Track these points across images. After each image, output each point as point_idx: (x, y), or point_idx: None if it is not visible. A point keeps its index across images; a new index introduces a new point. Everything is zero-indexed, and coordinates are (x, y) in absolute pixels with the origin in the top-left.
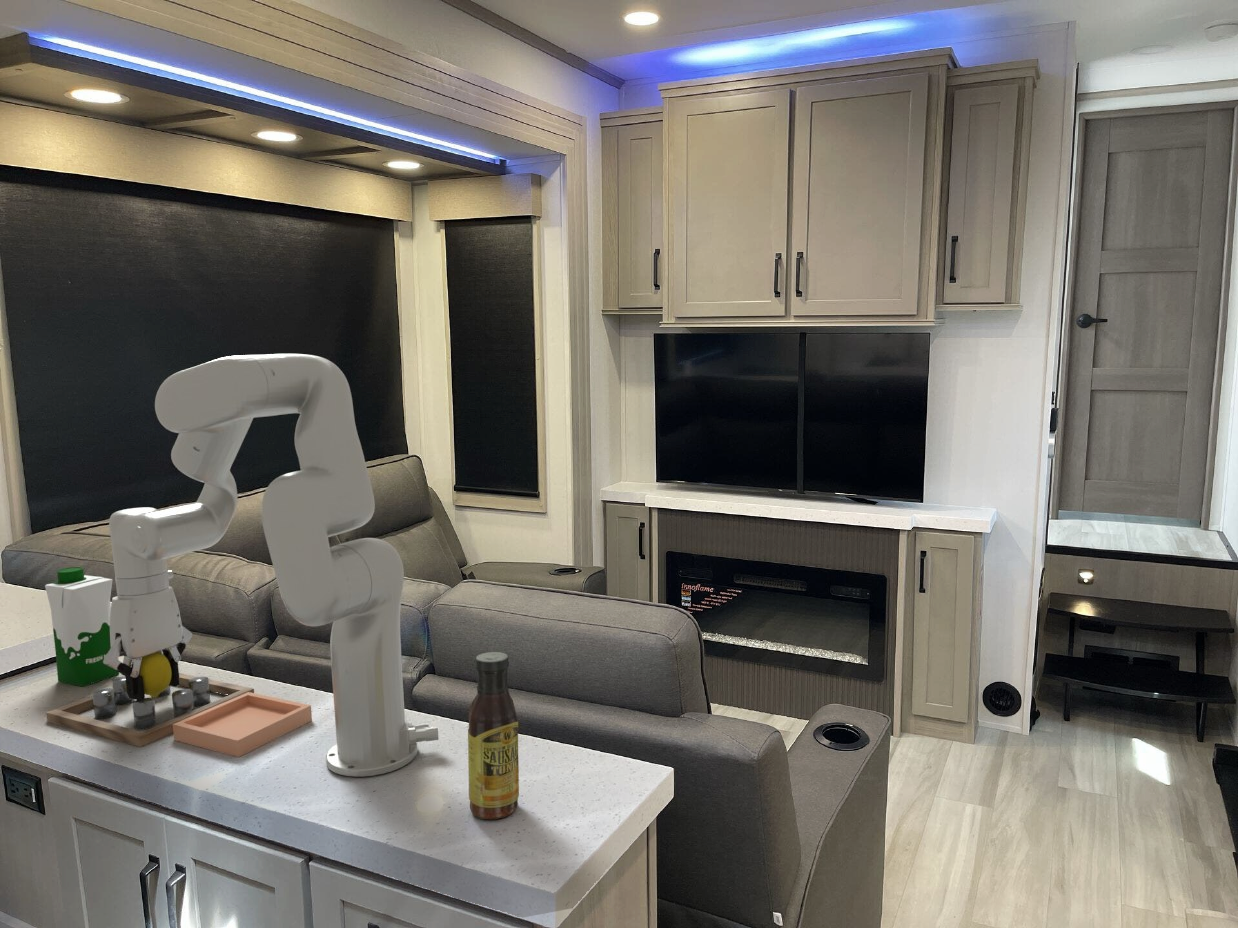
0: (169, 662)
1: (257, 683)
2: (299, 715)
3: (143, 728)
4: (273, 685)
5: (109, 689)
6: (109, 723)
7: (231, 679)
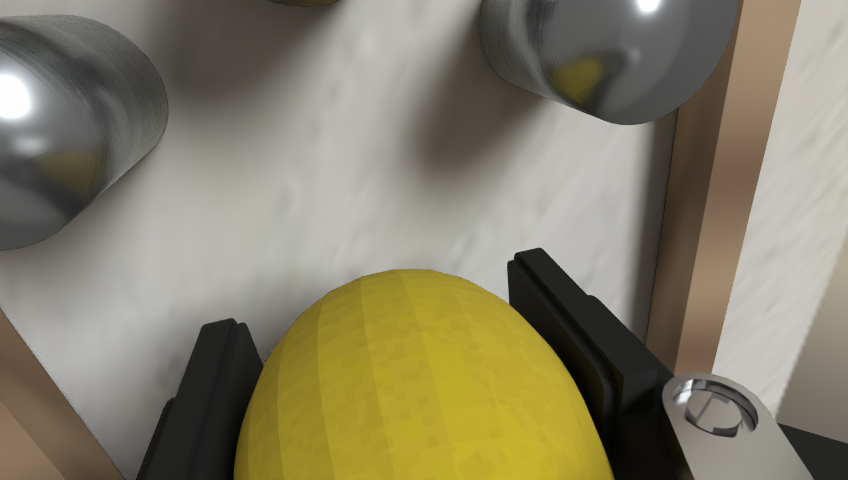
0: (618, 473)
1: (791, 313)
2: None
3: None
4: (779, 374)
5: (41, 140)
6: (31, 438)
7: (827, 169)
